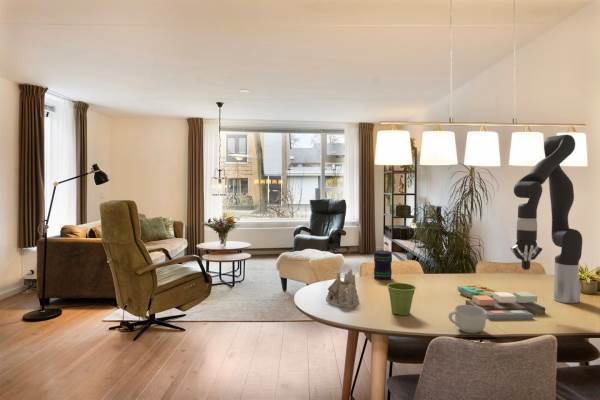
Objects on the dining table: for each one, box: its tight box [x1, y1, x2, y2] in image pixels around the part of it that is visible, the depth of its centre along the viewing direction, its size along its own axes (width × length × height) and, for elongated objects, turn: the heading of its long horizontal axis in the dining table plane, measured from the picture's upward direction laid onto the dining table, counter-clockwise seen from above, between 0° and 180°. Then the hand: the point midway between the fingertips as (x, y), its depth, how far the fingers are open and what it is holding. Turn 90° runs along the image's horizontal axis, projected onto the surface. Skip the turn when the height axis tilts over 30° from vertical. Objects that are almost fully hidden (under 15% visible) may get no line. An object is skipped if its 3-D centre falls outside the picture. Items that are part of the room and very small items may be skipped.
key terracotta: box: [471, 295, 495, 306], centre depth 177 cm, size 6×6×2 cm
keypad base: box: [464, 299, 546, 315], centre depth 177 cm, size 28×12×2 cm, turn 92°
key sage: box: [512, 291, 538, 303], centre depth 177 cm, size 6×6×2 cm
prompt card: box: [486, 310, 534, 321], centre depth 167 cm, size 18×5×2 cm, turn 92°
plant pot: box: [386, 282, 417, 316], centre depth 172 cm, size 12×12×11 cm
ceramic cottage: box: [325, 268, 360, 309], centre depth 188 cm, size 16×16×15 cm
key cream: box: [493, 291, 517, 302], centre depth 177 cm, size 6×6×2 cm
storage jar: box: [373, 250, 393, 281], centre depth 234 cm, size 10×10×15 cm
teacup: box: [448, 304, 487, 334], centre depth 152 cm, size 14×11×8 cm
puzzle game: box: [457, 284, 498, 300], centre depth 194 cm, size 12×5×20 cm
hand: (525, 269), depth 177 cm, fingers closed
